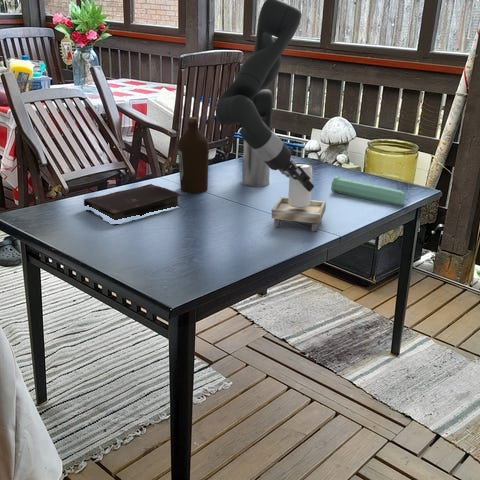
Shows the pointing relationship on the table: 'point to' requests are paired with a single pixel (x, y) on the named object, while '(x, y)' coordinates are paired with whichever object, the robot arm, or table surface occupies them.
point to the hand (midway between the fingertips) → (304, 185)
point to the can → (300, 189)
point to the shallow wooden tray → (298, 212)
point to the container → (368, 191)
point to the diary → (134, 201)
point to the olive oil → (193, 159)
